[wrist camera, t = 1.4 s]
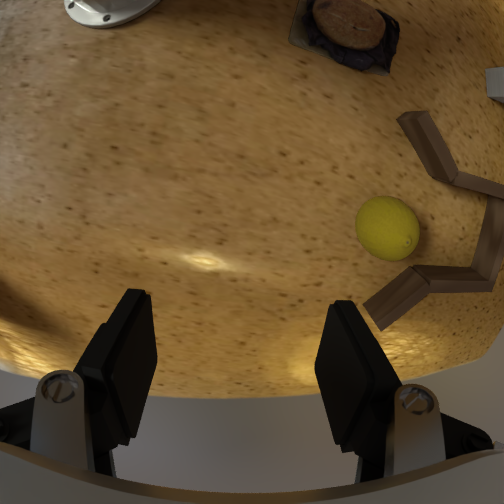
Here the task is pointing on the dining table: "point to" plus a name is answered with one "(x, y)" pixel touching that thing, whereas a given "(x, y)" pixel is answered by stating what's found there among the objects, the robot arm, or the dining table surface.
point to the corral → (443, 277)
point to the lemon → (387, 228)
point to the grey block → (495, 83)
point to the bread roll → (346, 33)
